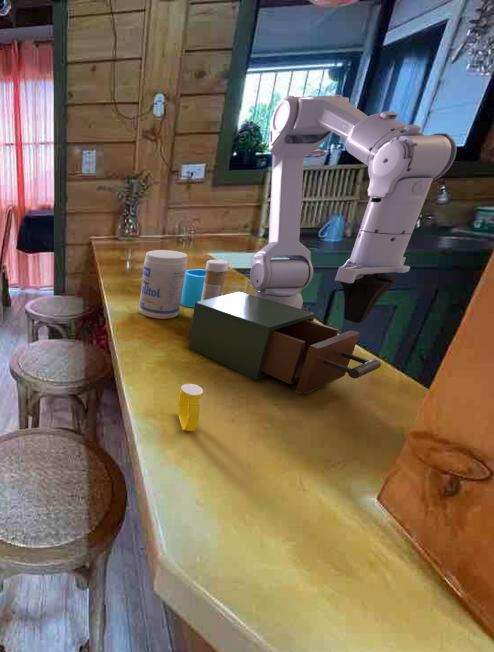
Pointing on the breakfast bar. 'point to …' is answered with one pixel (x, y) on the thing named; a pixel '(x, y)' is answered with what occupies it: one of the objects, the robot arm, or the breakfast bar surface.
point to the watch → (189, 406)
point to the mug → (193, 287)
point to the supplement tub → (162, 283)
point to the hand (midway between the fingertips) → (353, 320)
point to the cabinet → (240, 329)
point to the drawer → (313, 355)
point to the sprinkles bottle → (214, 279)
